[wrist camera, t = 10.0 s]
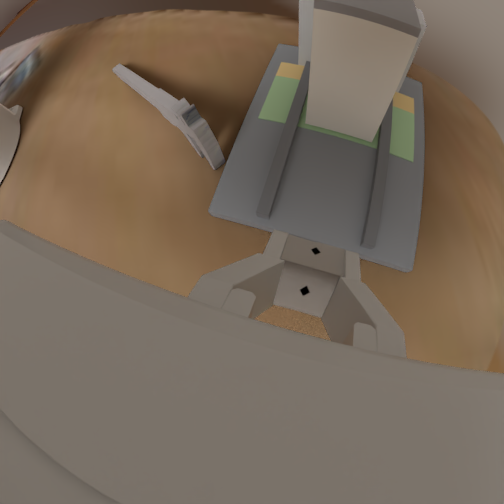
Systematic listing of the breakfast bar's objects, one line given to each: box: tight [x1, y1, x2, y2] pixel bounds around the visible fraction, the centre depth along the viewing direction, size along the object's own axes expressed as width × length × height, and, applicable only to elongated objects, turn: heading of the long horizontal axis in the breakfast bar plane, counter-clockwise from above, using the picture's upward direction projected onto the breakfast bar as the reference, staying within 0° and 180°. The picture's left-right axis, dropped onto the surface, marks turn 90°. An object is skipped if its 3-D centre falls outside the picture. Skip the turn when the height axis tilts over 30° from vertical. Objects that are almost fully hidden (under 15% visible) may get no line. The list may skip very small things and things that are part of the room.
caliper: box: [113, 63, 226, 170], centre depth 19 cm, size 20×1×6 cm, turn 41°
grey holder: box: [208, 0, 427, 272], centre depth 15 cm, size 14×18×9 cm
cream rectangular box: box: [305, 0, 421, 142], centre depth 13 cm, size 5×5×11 cm
